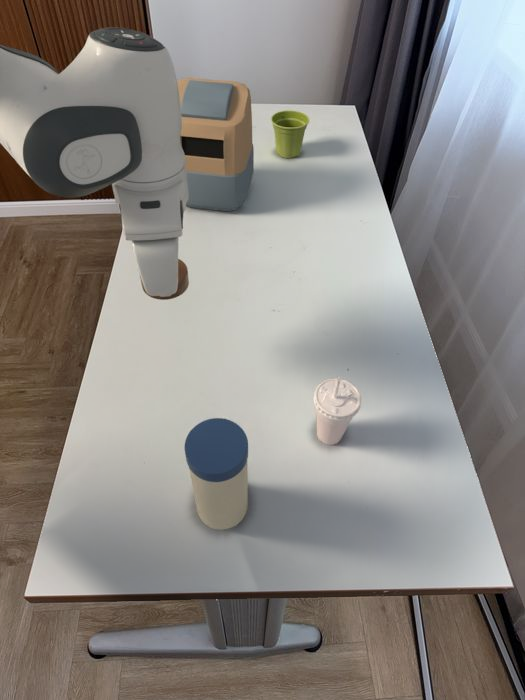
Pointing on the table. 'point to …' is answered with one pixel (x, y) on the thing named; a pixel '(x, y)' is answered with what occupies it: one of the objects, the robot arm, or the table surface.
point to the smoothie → (335, 408)
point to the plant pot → (289, 132)
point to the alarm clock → (216, 142)
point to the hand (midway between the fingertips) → (164, 274)
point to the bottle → (218, 471)
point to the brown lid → (182, 282)
